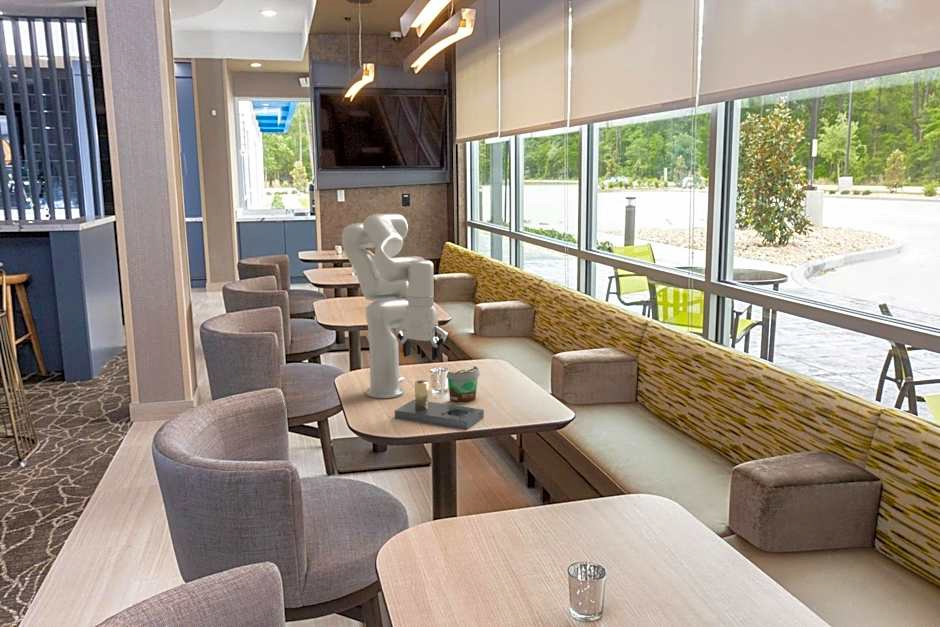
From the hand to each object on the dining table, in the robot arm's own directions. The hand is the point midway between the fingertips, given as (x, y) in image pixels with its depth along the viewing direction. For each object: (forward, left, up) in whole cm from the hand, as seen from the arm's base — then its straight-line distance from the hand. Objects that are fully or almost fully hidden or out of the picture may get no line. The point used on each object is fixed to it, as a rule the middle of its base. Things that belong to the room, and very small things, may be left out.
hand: (421, 357), depth 232 cm
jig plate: (0, +6, -18) cm, 19 cm away
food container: (-20, +6, -18) cm, 28 cm away
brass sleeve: (0, 0, -16) cm, 16 cm away
